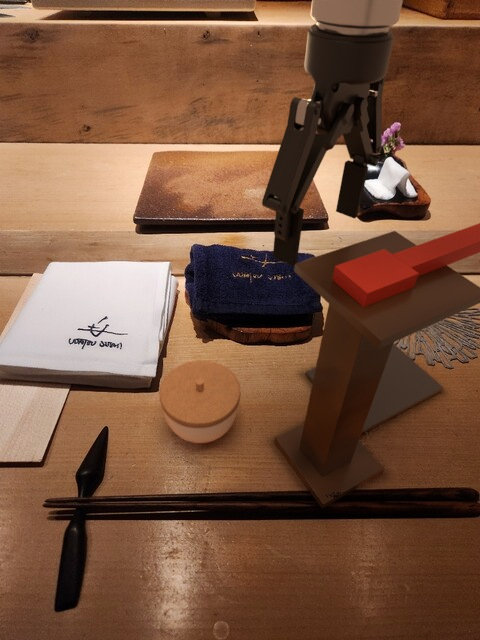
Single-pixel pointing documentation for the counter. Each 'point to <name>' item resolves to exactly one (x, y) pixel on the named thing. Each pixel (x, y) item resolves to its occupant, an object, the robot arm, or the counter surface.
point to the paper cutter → (397, 388)
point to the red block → (403, 266)
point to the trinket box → (200, 400)
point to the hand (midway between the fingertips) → (317, 235)
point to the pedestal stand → (359, 364)
